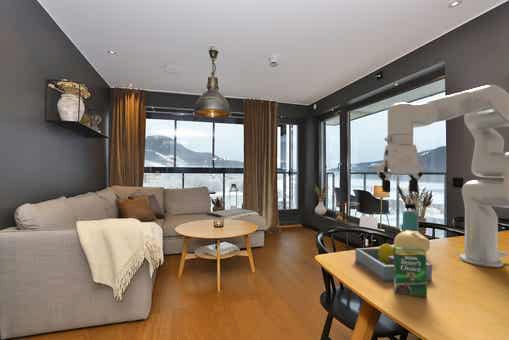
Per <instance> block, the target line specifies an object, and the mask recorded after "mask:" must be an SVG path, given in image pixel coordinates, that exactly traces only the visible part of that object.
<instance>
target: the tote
mask: <svg viewBox="0 0 509 340" xmlns="http://www.w3.org/2000/svg"><path fill="white" fill-rule="evenodd" d="M379 248H380V247H362V248H361V247H359V248H356V247H355V255H354V256H355V259H354V260H355V263H357V264H358V265H360V266H361V267H362V268H364V269H366V271H368V272H369V273H371V274H372V275H373V276H374V277H376V278H377V279H379V280H380V281H381V282H383V283H394V265H386V264H385V263H383V262H382V261H381V260H380V258H379V255H378V251H379ZM432 271H433V264H431V263H429V262H427V261H426V276H427V281H432V279H433V272H432Z"/></svg>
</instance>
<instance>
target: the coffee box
mask: <svg viewBox="0 0 509 340" xmlns="http://www.w3.org/2000/svg"><path fill="white" fill-rule="evenodd" d="M392 247H393V257H394V282H393V289H394V290H393V291H394V292H395V293H396V294H398V295H406V296H412V297H417V298H418V297H419V298H427V297H428V295H427V294H428V287H427V285H428V284H427V282H428V280H427V276H426V262H427V252H426V251H425V250H424V249H417V248H402V247H394V246H392Z"/></svg>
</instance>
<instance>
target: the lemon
mask: <svg viewBox="0 0 509 340" xmlns="http://www.w3.org/2000/svg"><path fill="white" fill-rule="evenodd" d="M393 247H394V246H392V245H391V244H389V243H388V242H386V243H382V244H381V245H379V247H378V248H379V251H378V255H379V258H380V260H381V261H382V262H383V263H385V264H386V265H388V256H393Z"/></svg>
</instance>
